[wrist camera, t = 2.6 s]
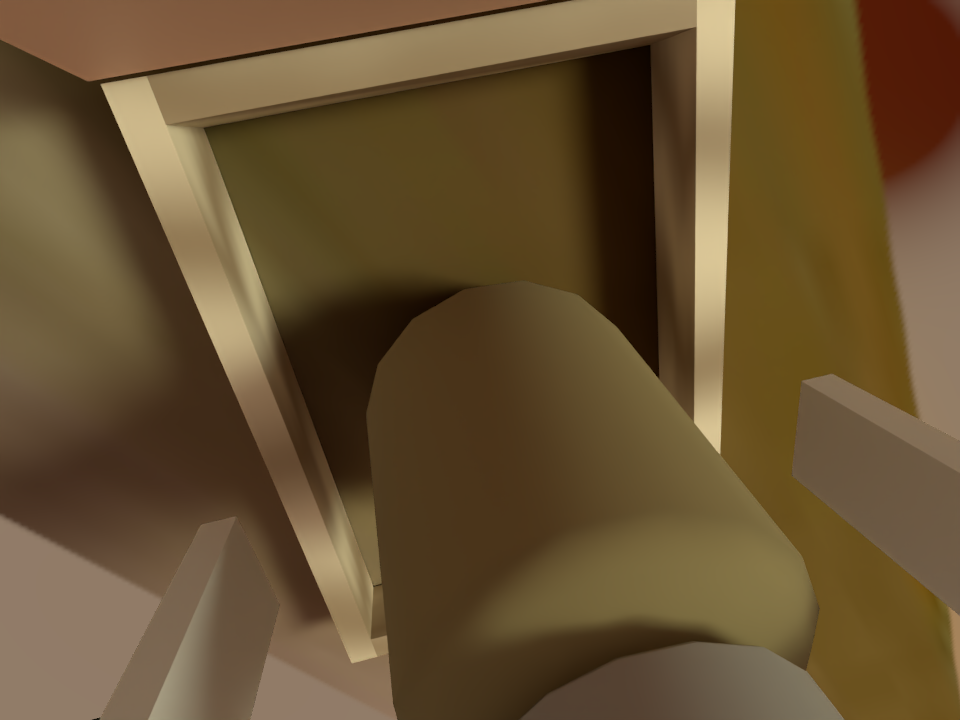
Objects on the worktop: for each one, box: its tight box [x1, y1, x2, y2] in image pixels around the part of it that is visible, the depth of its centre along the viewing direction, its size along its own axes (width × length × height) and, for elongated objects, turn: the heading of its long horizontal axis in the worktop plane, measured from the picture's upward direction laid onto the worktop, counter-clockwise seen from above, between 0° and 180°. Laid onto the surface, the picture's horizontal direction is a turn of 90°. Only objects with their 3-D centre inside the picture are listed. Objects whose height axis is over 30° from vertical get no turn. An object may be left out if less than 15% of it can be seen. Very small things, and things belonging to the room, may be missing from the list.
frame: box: [101, 0, 735, 663], centre depth 17 cm, size 20×15×2 cm
